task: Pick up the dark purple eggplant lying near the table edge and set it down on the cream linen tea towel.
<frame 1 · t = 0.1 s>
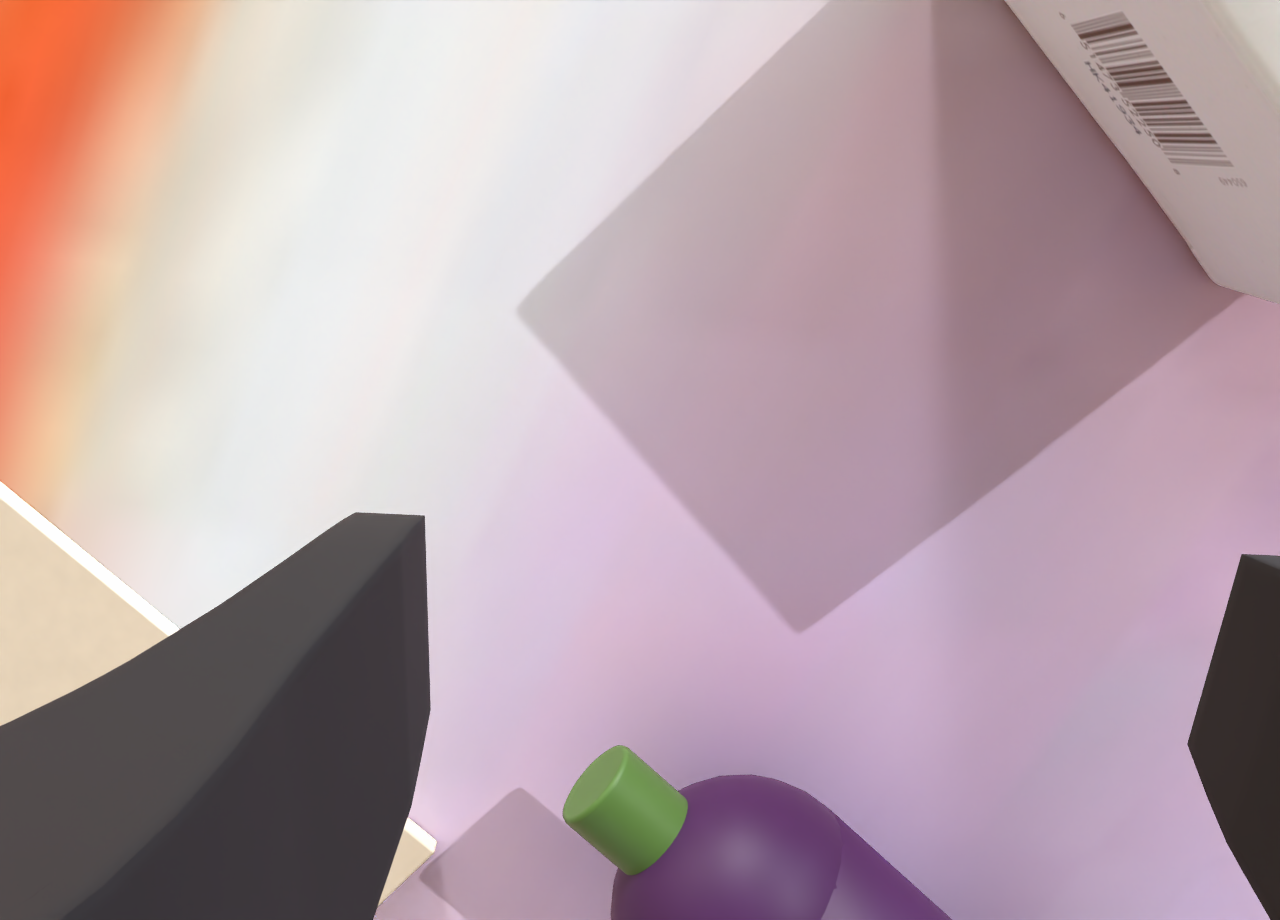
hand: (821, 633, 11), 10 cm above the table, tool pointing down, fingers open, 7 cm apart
small box: (1131, 109, 17), point 3 cm above the table
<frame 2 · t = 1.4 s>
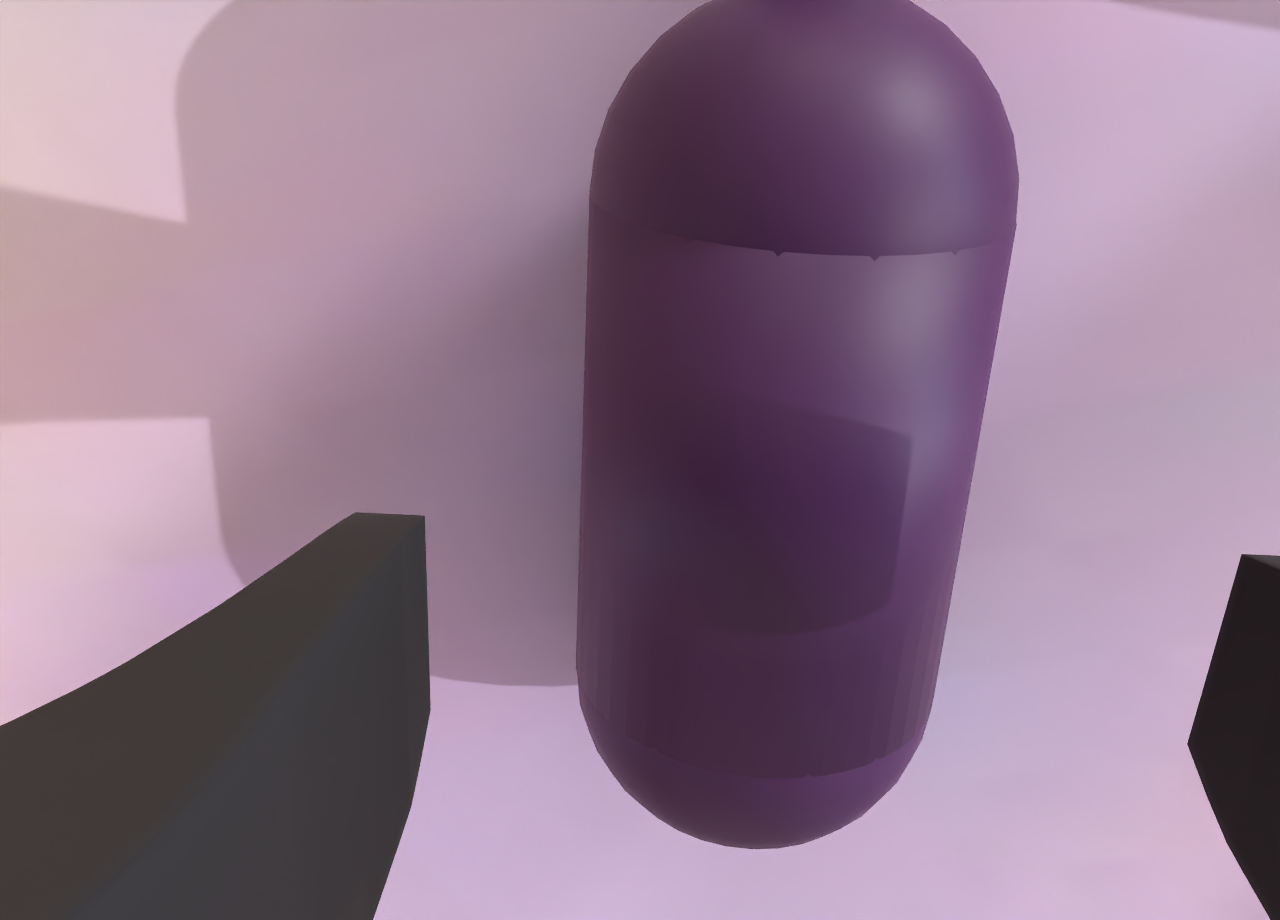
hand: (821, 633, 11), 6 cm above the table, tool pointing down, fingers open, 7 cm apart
eggplant: (758, 384, 17), on the table
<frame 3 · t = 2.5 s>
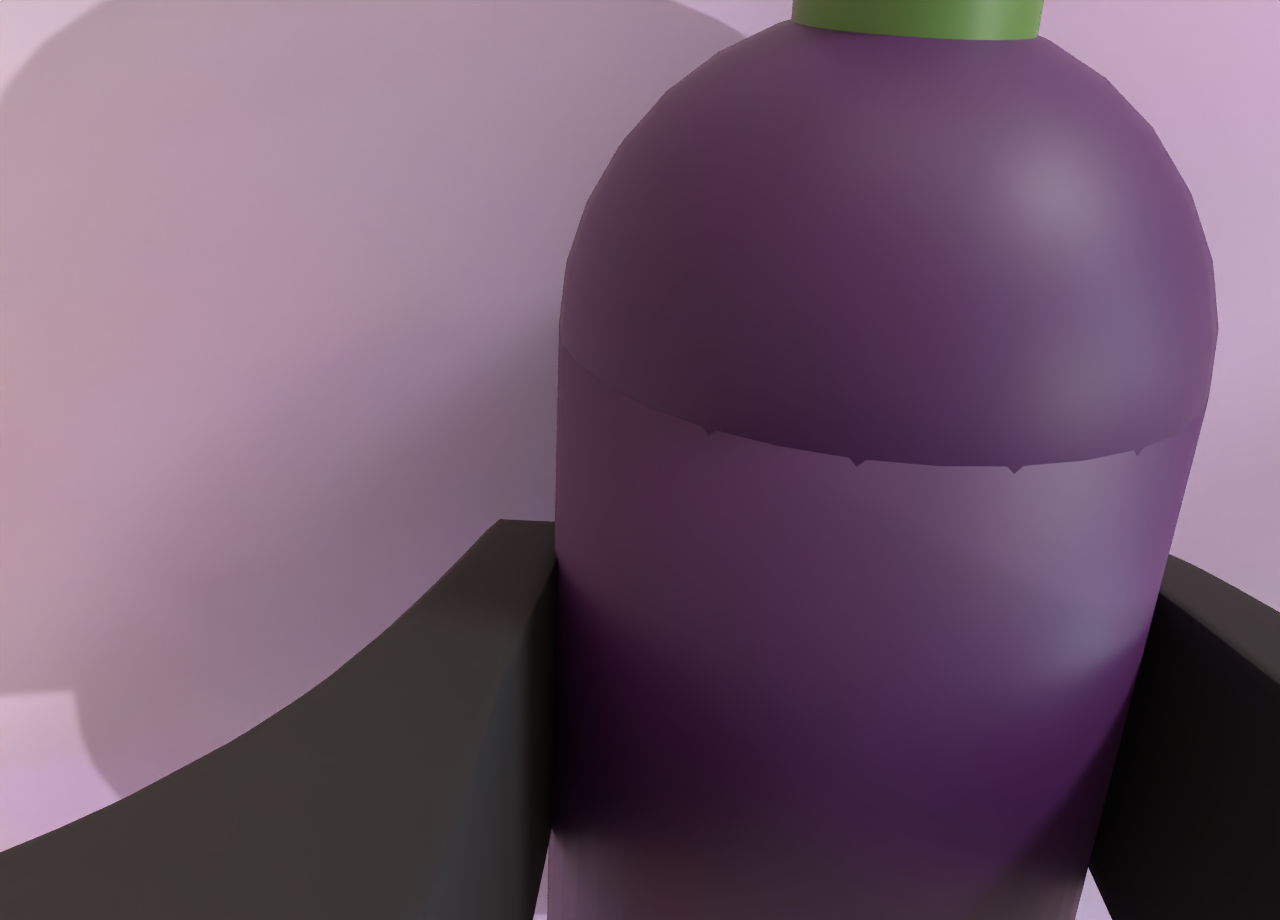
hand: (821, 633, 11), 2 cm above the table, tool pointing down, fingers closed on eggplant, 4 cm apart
eggplant: (797, 547, 12), on the table, touching gripper
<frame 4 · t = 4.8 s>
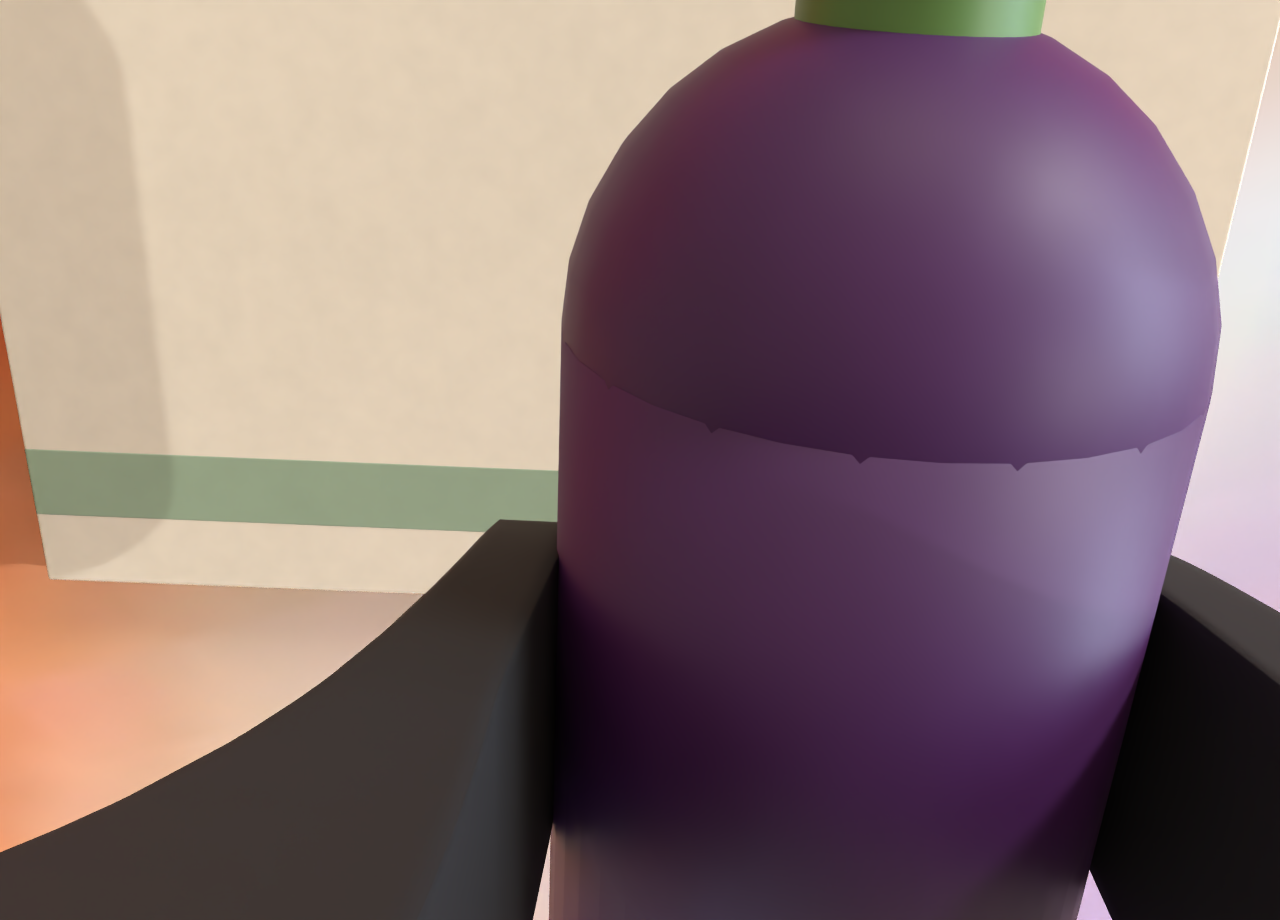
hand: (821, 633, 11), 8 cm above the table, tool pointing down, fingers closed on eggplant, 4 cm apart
eggplant: (799, 545, 12), point 7 cm above the table, touching gripper
towel: (605, 170, 17), on the table
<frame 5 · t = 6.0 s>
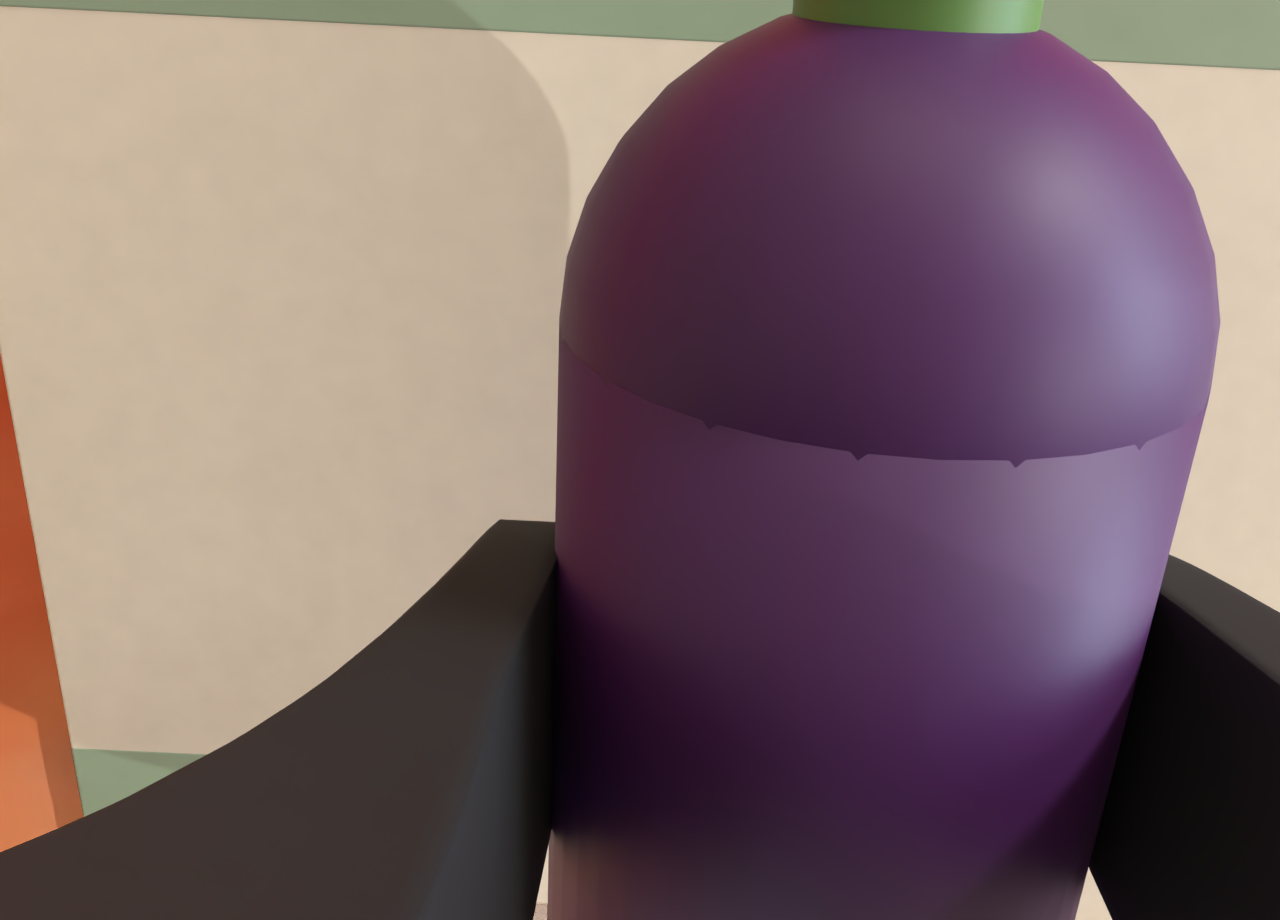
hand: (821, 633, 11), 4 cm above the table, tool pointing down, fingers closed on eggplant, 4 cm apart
eggplant: (798, 543, 12), point 3 cm above the table, touching gripper
towel: (777, 448, 15), on the table
when the fingers open (2 cm above the table, at t = 7.1 s): eggplant stays where it is, resting on towel.
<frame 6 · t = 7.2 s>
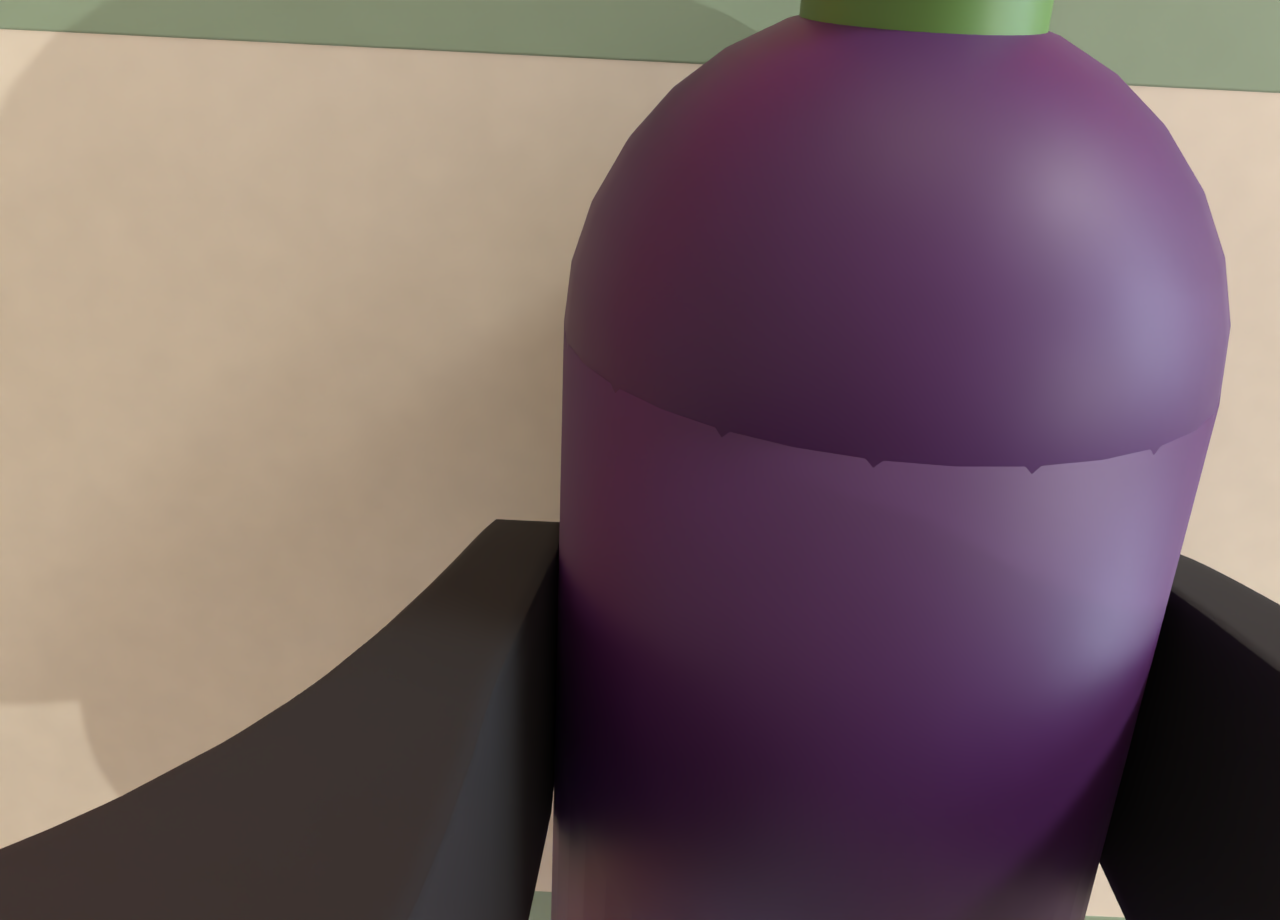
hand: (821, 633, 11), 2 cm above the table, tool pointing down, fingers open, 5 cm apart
eggplant: (799, 547, 12), resting on towel
towel: (798, 533, 13), on the table
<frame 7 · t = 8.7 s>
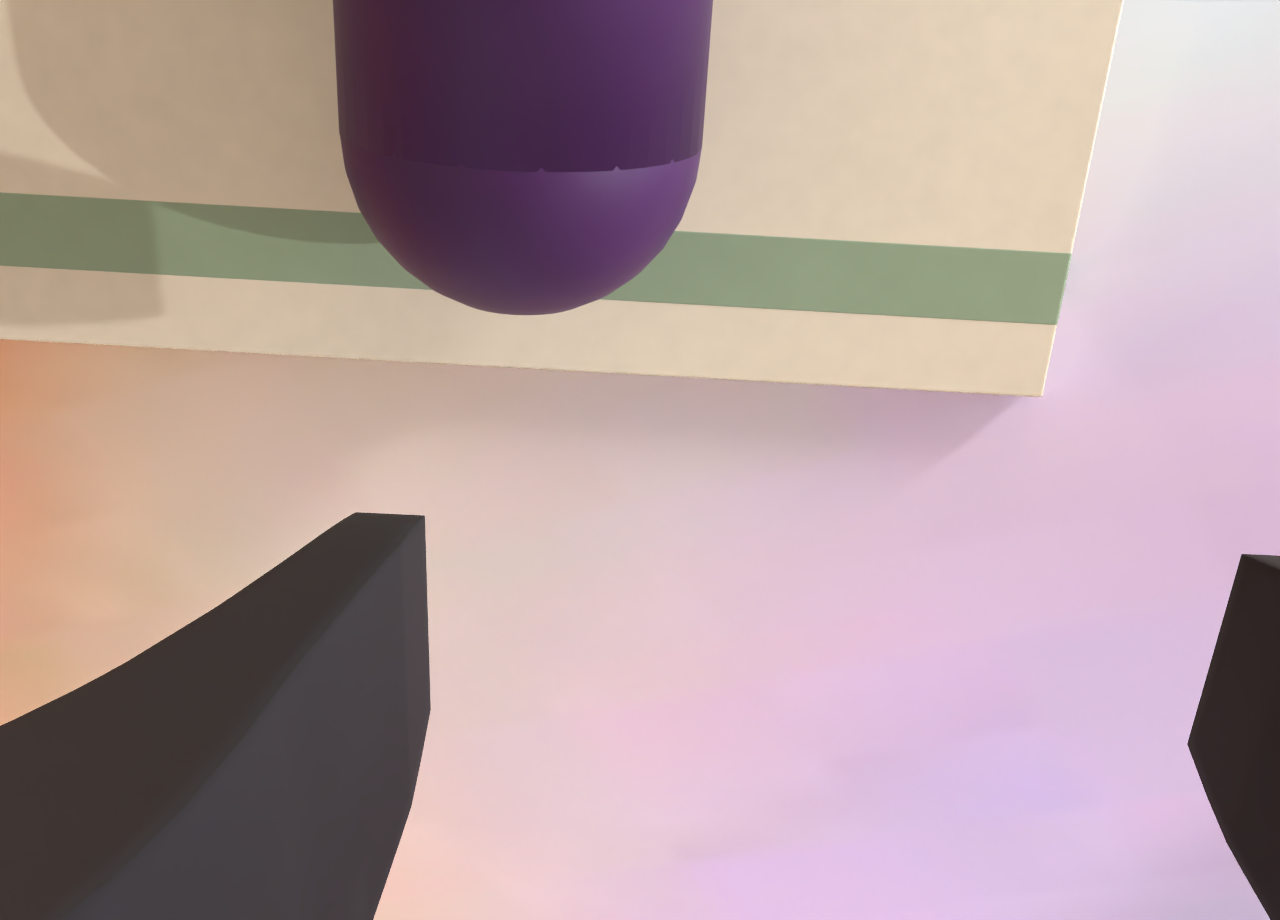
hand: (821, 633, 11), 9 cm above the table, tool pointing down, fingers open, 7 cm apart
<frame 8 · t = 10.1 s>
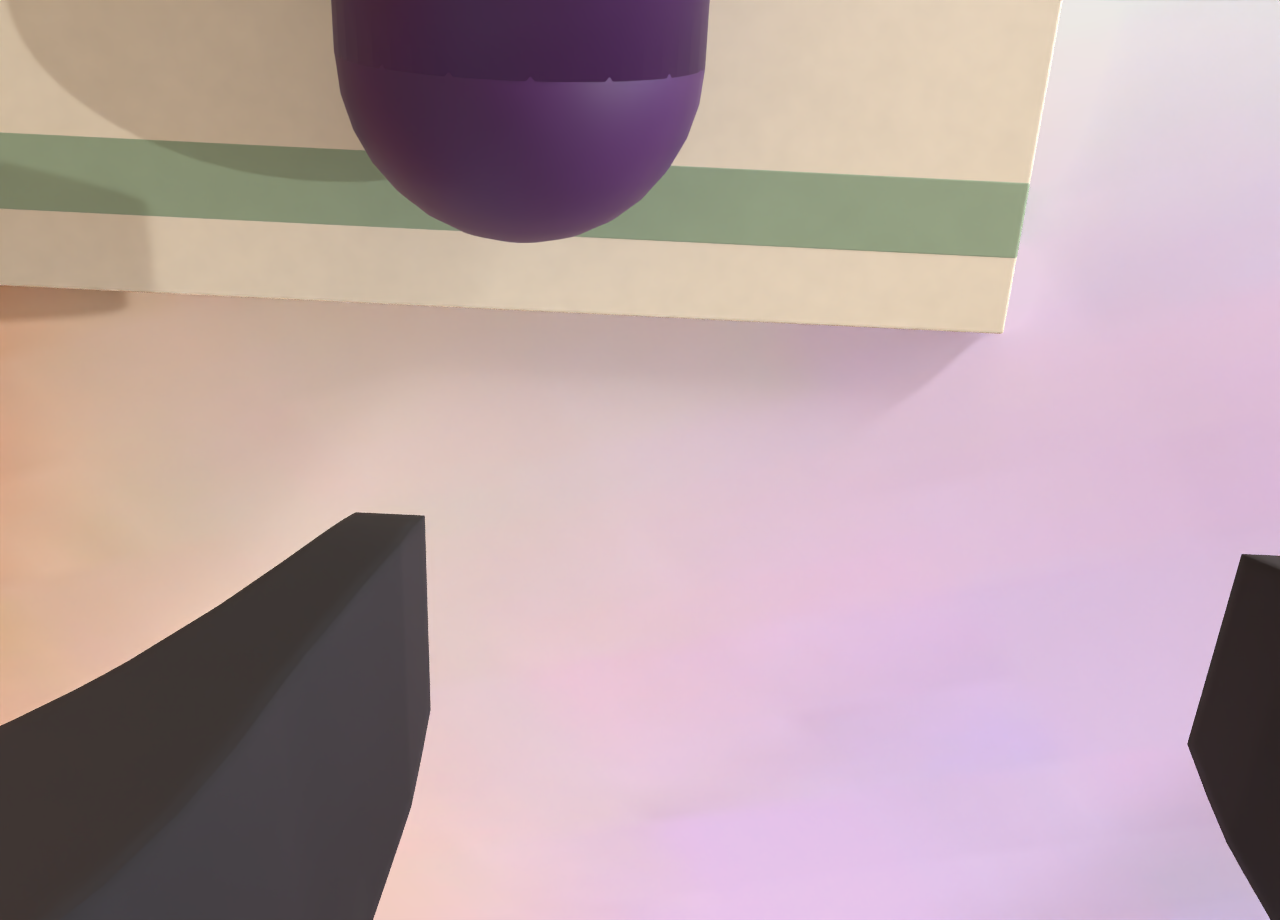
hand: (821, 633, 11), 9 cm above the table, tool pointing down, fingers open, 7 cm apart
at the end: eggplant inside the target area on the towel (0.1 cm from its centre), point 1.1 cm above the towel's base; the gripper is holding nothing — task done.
